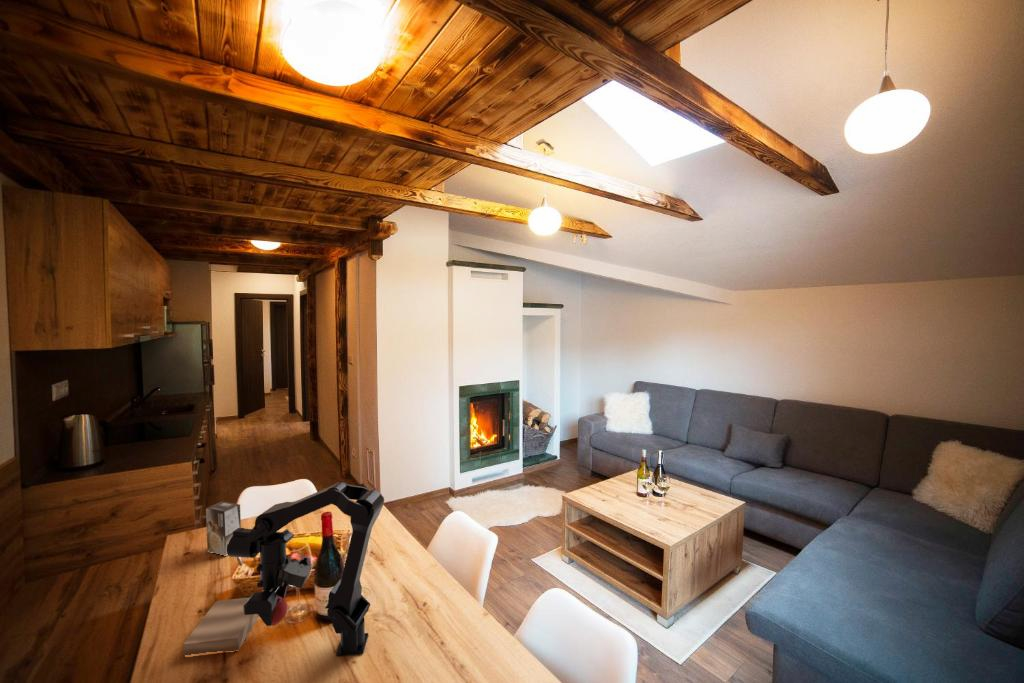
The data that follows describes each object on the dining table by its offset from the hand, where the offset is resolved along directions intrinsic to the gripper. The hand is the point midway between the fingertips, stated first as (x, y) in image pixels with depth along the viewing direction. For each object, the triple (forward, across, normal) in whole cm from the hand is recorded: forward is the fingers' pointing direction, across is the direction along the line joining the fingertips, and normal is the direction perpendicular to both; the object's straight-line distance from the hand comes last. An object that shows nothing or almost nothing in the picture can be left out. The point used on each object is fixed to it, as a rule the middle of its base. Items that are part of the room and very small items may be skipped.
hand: (274, 616), depth 108 cm
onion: (+2, 0, 0) cm, 2 cm away
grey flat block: (+7, +5, +14) cm, 16 cm away
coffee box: (+6, +47, +36) cm, 60 cm away
